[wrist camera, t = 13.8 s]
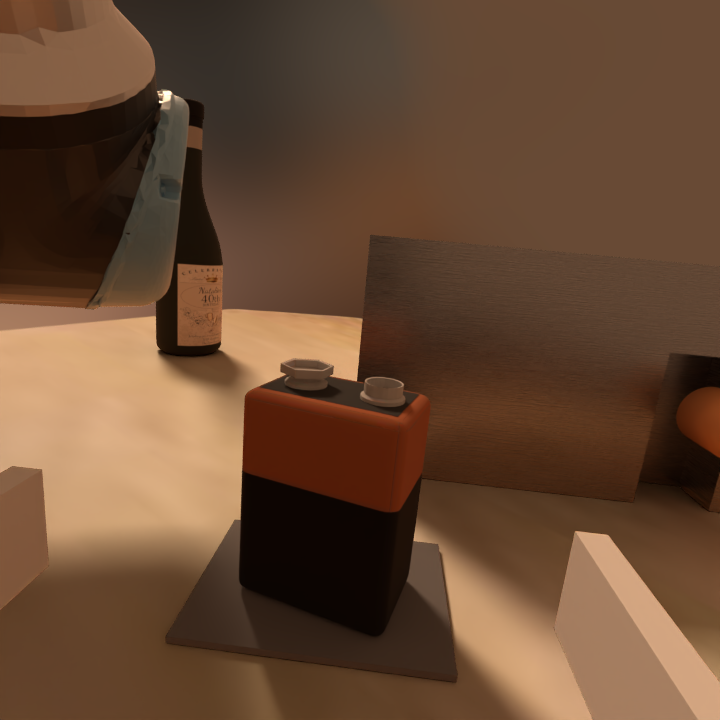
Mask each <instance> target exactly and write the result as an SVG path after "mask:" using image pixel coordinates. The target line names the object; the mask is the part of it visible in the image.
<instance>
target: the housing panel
mask: <svg viewBox="0 0 720 720" xmlns="http://www.w3.org/2000/svg"><path fill="white" fill-rule="evenodd" d="M371 377H385V378H391V379H395V380H399V381H401V382H402V383H403V384H404V388H403V391H409V392H413V393H418V394H422V395H424V396H426V397H427V398H428V399H429V401H430V404H431V408H430V416H429V424H428V432H427V439H426V447H425V455H424V463H423V470H422V478H425V479H434V480H442V481H451V482H460V483H468V484H477V485H486V486H495V487H503V488H512V489H521V490H529V491H538V492H547V493H555V494H564V495H573V496H582V497H590V498H599V499H608V500H616V501H625V502H633V501H634V497H635V493H636V488H637V484H638V482H647V483H656V484H665V485H674V486H679V487H680V488H682V489H683V490H684V491H685V492H686V493H688V494H689V495H690V496H691V497H692V498H694V499H695V500H696V501H697V502H698V503H700V504H701V505H702V506H703V507H704V508H706V509H707V510H708V511H712V512H720V458H719V457H717V456H716V455H714V454H713V453H711V452H710V451H708V450H706V449H705V448H703V447H702V446H700V445H699V444H697V443H696V442H694V441H692V440H691V439H689V438H688V437H686V436H685V435H684V434H683V433H682V432H681V431H680V429H679V428H678V425H677V421H676V414H677V410H678V407H679V405H680V403H681V402H682V401H683V399H684V398H685V397H686V396H687V395H689V394H690V393H691V392H693V391H695V390H697V389H700V388H704V387H718V388H720V266H709V265H699V264H687V263H677V262H676V263H675V262H665V261H654V260H643V259H631V258H620V257H609V256H599V255H588V254H576V253H565V252H554V251H542V250H532V249H521V248H510V247H499V246H488V245H476V244H465V243H454V242H443V241H432V240H419V239H409V238H399V237H387V236H375V235H370V244H369V256H368V266H367V277H366V289H365V299H364V311H363V322H362V333H361V344H360V355H359V366H358V377H357V382H362V383H365V380H366V379H367V378H371Z"/></svg>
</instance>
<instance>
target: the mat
mask: <svg viewBox="0 0 720 720" xmlns="http://www.w3.org/2000/svg"><path fill="white" fill-rule="evenodd" d="M240 524H241V520H234V522H233V524H232V525H231V527H230V529H229V530H228V532H227V534H226V536H225V537H224V539H223V541H222V542H221V544H220V546H219V547H218V549H217V551H216V552H215V554H214V556H213V557H212V559H211V561H210V562H209V564H208V566H207V568H206V569H205V571H204V573H203V574H202V576H201V578H200V579H199V581H198V583H197V584H196V586H195V588H194V589H193V591H192V593H191V595H190V596H189V598H188V600H187V601H186V603H185V605H184V606H183V608H182V610H181V611H180V613H179V615H178V616H177V618H176V620H175V621H174V623H173V625H172V627H171V628H170V630H169V632H168V633H167V635H166V643H171V644H178V645H185V646H193V647H200V648H208V649H215V650H222V651H230V652H237V653H244V654H252V655H259V656H267V657H274V658H281V659H289V660H296V661H303V662H311V663H318V664H326V665H333V666H340V667H348V668H355V669H362V670H370V671H377V672H385V673H392V674H399V675H407V676H414V677H422V678H429V679H436V680H444V681H451V682H456V681H457V669H456V662H455V655H454V649H453V642H452V635H451V628H450V621H449V615H448V608H447V601H446V594H445V587H444V580H443V574H442V567H441V560H440V553H439V546H438V544H432V543H424V542H415V541H413V547H412V555H411V563H410V570H409V575H408V578H407V581H406V583H405V585H404V588H403V590H402V592H401V595H400V597H399V599H398V601H397V604H396V606H395V608H394V611H393V613H392V615H391V617H390V620H389V622H388V624H387V626H386V629H385V630H384V632H383V633H382V634H381V635H379V636H372V635H368V634H366V633H363V632H360V631H357V630H355V629H352V628H349V627H347V626H344V625H341V624H339V623H336V622H334V621H331V620H328V619H326V618H323V617H320V616H318V615H315V614H312V613H310V612H307V611H304V610H302V609H299V608H297V607H294V606H291V605H289V604H286V603H283V602H281V601H278V600H275V599H273V598H270V597H267V596H265V595H262V594H260V593H257V592H254V591H252V590H249V589H247V588H245V587H243V586H242V585H241V584H240V582H239V554H240Z"/></svg>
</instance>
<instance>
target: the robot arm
mask: <svg viewBox="0 0 720 720" xmlns="http://www.w3.org/2000/svg"><path fill="white" fill-rule="evenodd" d="M188 125H189V107H188V104H187V103H186V101H185V100H184V99H182V98H180V97H178V96H174V95H173V94H172V93H171V91H168V90H165V89H162V90H161V91H157V85H156V73H155V61H154V56H153V52H152V49H151V47H150V45H149V43H148V42H147V41H146V40H145V38H144V37H143V36H142V35H141V34H140V33H139V32H138V30H137V29H136V28H135V27H134V26H133V25H132V24H131V23H130V22H129V21H128V20H127V19H126V18H125V17H124V16H123V15H122V13H121V12H120V11H119V10H118V9H117V8H116V7H115V6H114V4H113V1H112V0H0V303H5V304H22V305H40V306H57V307H76V308H85V309H92V310H94V309H97V308H98V307H122V306H123V307H124V306H125V307H128V306H146V305H149V304H151V303H154V302H156V301H158V300H160V299H161V298H162V297H163V296H164V295H165V294H166V292H167V291H168V289H169V286H170V282H171V278H172V272H173V265H174V257H175V249H176V240H177V231H178V223H179V212H180V202H181V190H182V183H183V173H184V167H185V158H186V148H187V137H188ZM48 566H49V561H48V547H47V533H46V519H45V505H44V491H43V477H42V470H41V469H33V468H24V467H15V466H12V467H10V468H8V469H7V470H5V471H3V472H1V473H0V610H1V609H2V608H3V607H4V606H5V605H6V604H8V603H9V602H10V601H11V600H12V599H13V598H14V597H15V596H16V595H17V594H18V593H20V592H21V591H22V590H23V589H24V588H25V587H26V586H27V585H28V584H29V583H30V582H32V581H33V580H34V579H35V578H36V577H37V576H38V575H39V574H40V573H41V572H42V571H44V570H45V569H46V568H47V567H48ZM554 630H555V632H556V635H557V637H558V639H559V642H560V644H561V646H562V649H563V651H564V653H565V656H566V658H567V660H568V663H569V665H570V667H571V670H572V672H573V674H574V677H575V679H576V681H577V684H578V686H579V688H580V691H581V693H582V695H583V698H584V700H585V702H586V705H587V707H588V709H589V712H590V714H591V717H592V719H593V720H720V682H719V681H718V679H717V678H716V677H715V675H714V674H713V673H712V672H711V670H710V669H709V668H708V666H707V665H706V664H705V662H704V661H703V660H702V658H701V657H700V656H699V654H698V653H697V652H696V650H695V649H694V648H693V646H692V645H691V644H690V642H689V641H688V640H687V639H686V637H685V636H684V635H683V633H682V632H681V631H680V629H679V628H678V627H677V625H676V624H675V623H674V621H673V620H672V619H671V617H670V616H669V615H668V613H667V612H666V611H665V610H664V608H663V607H662V606H661V604H660V603H659V602H658V600H657V599H656V598H655V596H654V595H653V594H652V592H651V591H650V590H649V588H648V587H647V586H646V584H645V583H644V582H643V580H642V579H641V578H640V577H639V575H638V574H637V573H636V571H635V570H634V569H633V567H632V566H631V565H630V563H629V562H628V561H627V559H626V558H625V557H624V555H623V554H622V553H621V551H620V550H619V549H618V548H617V546H616V545H615V544H614V542H613V541H612V540H611V538H610V537H609V536H608V535H605V534H597V533H588V532H579V531H575V533H574V538H573V543H572V547H571V552H570V557H569V561H568V566H567V571H566V575H565V580H564V584H563V589H562V594H561V598H560V603H559V608H558V612H557V617H556V622H555V626H554Z"/></svg>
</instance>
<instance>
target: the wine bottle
mask: <svg viewBox="0 0 720 720" xmlns="http://www.w3.org/2000/svg"><path fill="white" fill-rule="evenodd" d="M184 100H185V101H186V103H187V104H188V107H189V125H188V137H187V148H186V158H185V167H184V173H183V183H182V190H181V202H180V212H179V223H178V231H177V240H176V249H175V257H174V265H173V272H172V278H171V282H170V286H169V289H168V291H167V292H166V294H165V295H164V296H163V297H162V298H161V299H160V300H158V301H156V340H157V346H158V347H159V348H160V349H161V350H163V351H164V352H166V353H169V354H173V355H181V356H194V355H204V354H209V353H213V352H215V351H216V350H217V349H218V348H219V347H220V345H221V324H222V277H223V273H222V272H223V263H222V256H221V249H220V245H219V241H218V237H217V234H216V232H215V229H214V226H213V223H212V220H211V218H210V215H209V212H208V209H207V206H206V202H205V199H204V194H203V188H202V123H203V119H204V105H203V104H202V103H201V102H198V101H195V100H191V99H184Z"/></svg>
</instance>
